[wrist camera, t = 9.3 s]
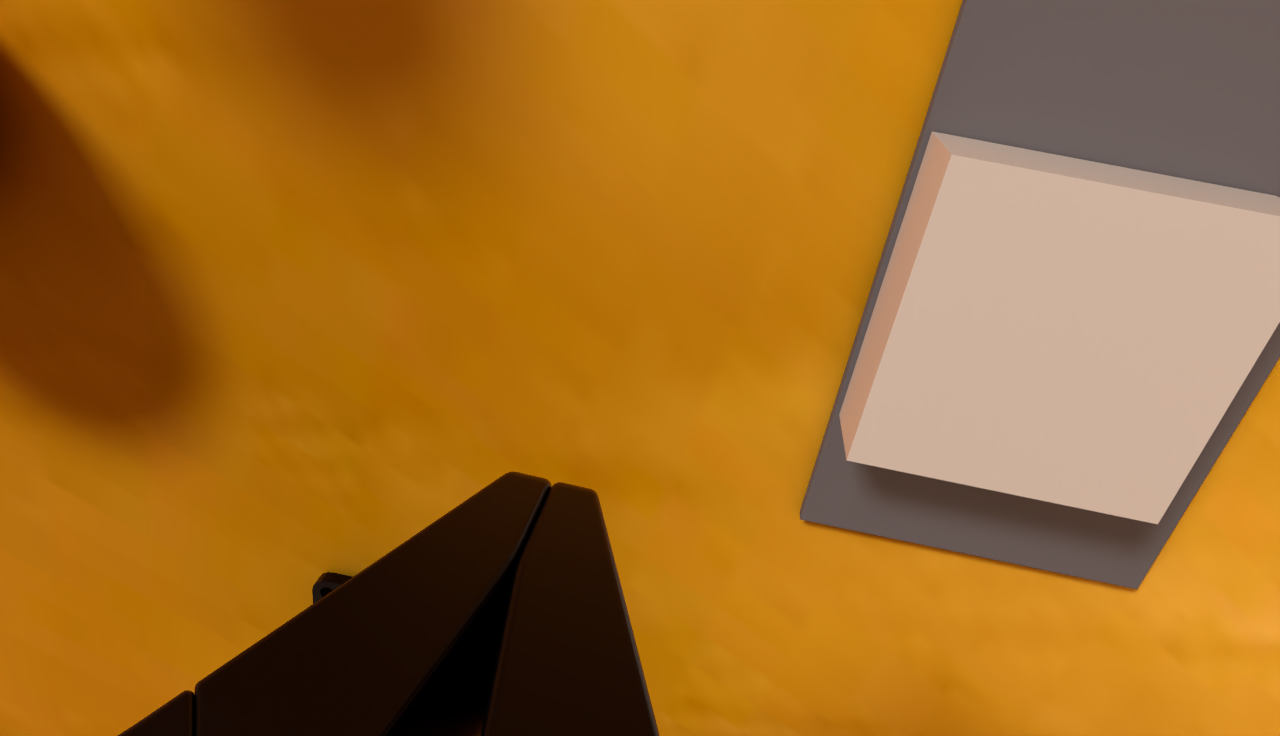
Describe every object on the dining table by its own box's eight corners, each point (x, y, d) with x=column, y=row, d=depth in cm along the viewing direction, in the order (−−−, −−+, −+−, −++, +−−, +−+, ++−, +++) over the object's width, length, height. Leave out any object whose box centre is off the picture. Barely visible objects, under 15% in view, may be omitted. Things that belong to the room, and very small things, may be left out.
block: (839, 413, 20) (1122, 471, 20) (846, 460, 18) (1157, 524, 18) (931, 131, 17) (1274, 194, 16) (951, 154, 15) (1336, 226, 15)
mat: (1132, 581, 22) (1137, 589, 21) (799, 512, 22) (799, 519, 22) (1471, 21, 15) (1485, 23, 15) (983, -64, 15) (987, -64, 15)
